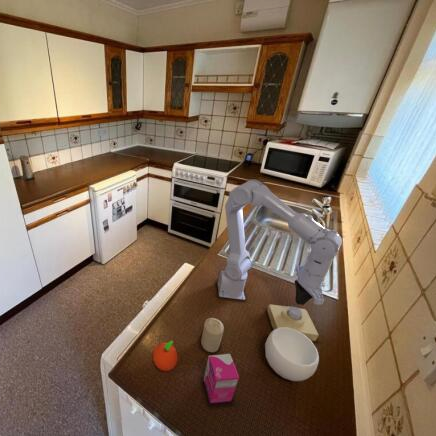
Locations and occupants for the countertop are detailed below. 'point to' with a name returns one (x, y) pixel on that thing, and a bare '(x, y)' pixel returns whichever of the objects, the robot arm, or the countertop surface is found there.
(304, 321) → the square plate with button
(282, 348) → the white bowl
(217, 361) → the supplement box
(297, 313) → the grey pebble
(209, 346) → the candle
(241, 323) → the countertop surface
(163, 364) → the clementine
